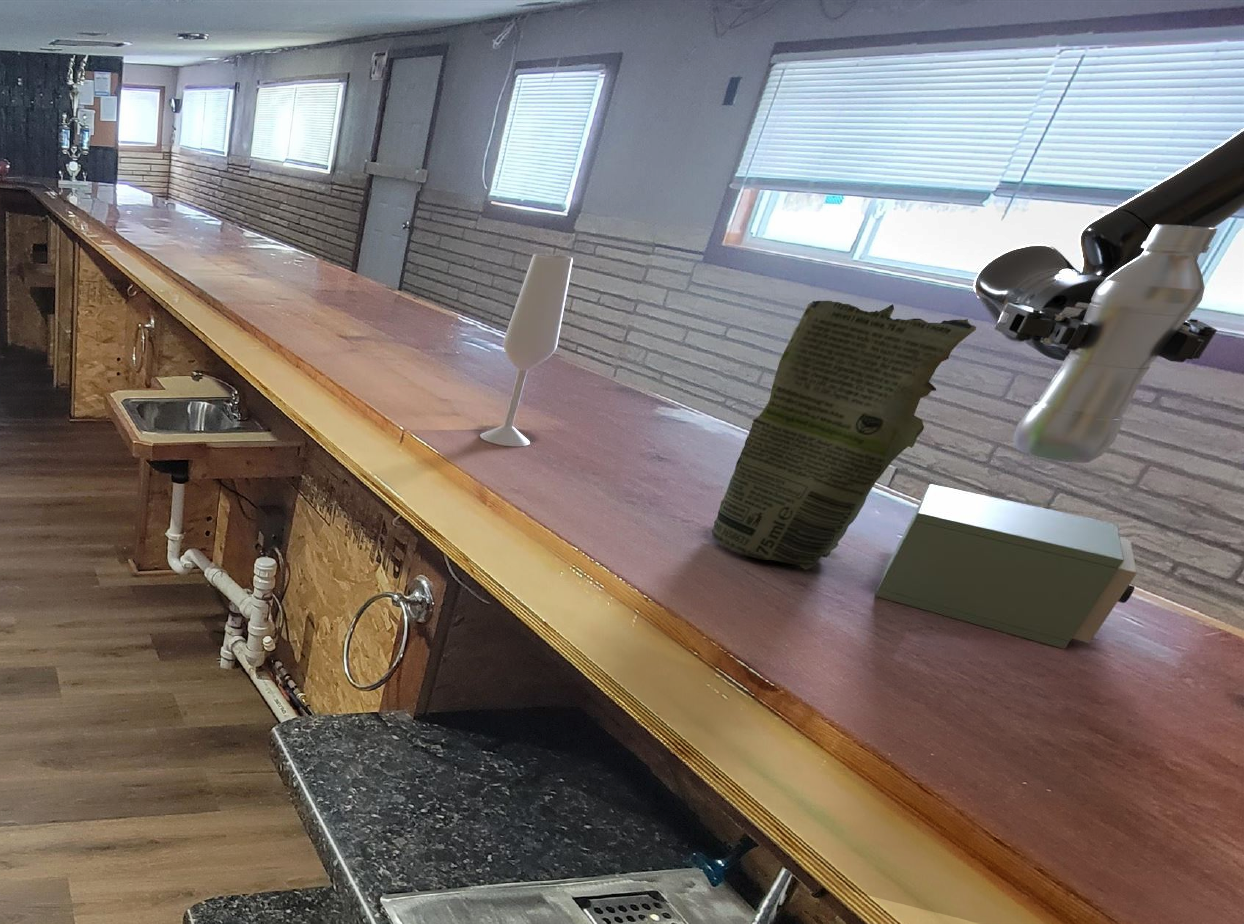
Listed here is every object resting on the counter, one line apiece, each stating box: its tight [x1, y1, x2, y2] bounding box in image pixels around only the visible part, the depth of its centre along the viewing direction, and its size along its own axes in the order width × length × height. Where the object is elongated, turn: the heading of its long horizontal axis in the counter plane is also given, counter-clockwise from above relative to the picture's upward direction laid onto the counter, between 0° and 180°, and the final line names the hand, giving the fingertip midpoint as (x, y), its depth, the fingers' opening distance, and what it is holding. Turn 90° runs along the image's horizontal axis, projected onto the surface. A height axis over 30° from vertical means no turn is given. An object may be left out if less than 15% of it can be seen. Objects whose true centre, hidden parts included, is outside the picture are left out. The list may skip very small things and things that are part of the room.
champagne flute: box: [479, 253, 574, 447], centre depth 120 cm, size 7×7×24 cm
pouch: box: [710, 300, 977, 571], centre depth 87 cm, size 11×12×25 cm
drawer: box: [1071, 536, 1138, 644], centre depth 82 cm, size 14×10×7 cm
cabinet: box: [874, 483, 1124, 650], centre depth 83 cm, size 14×12×9 cm
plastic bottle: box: [1012, 224, 1218, 464], centre depth 78 cm, size 6×7×20 cm
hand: (1130, 343), depth 76 cm, fingers closed on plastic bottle, 6 cm apart
